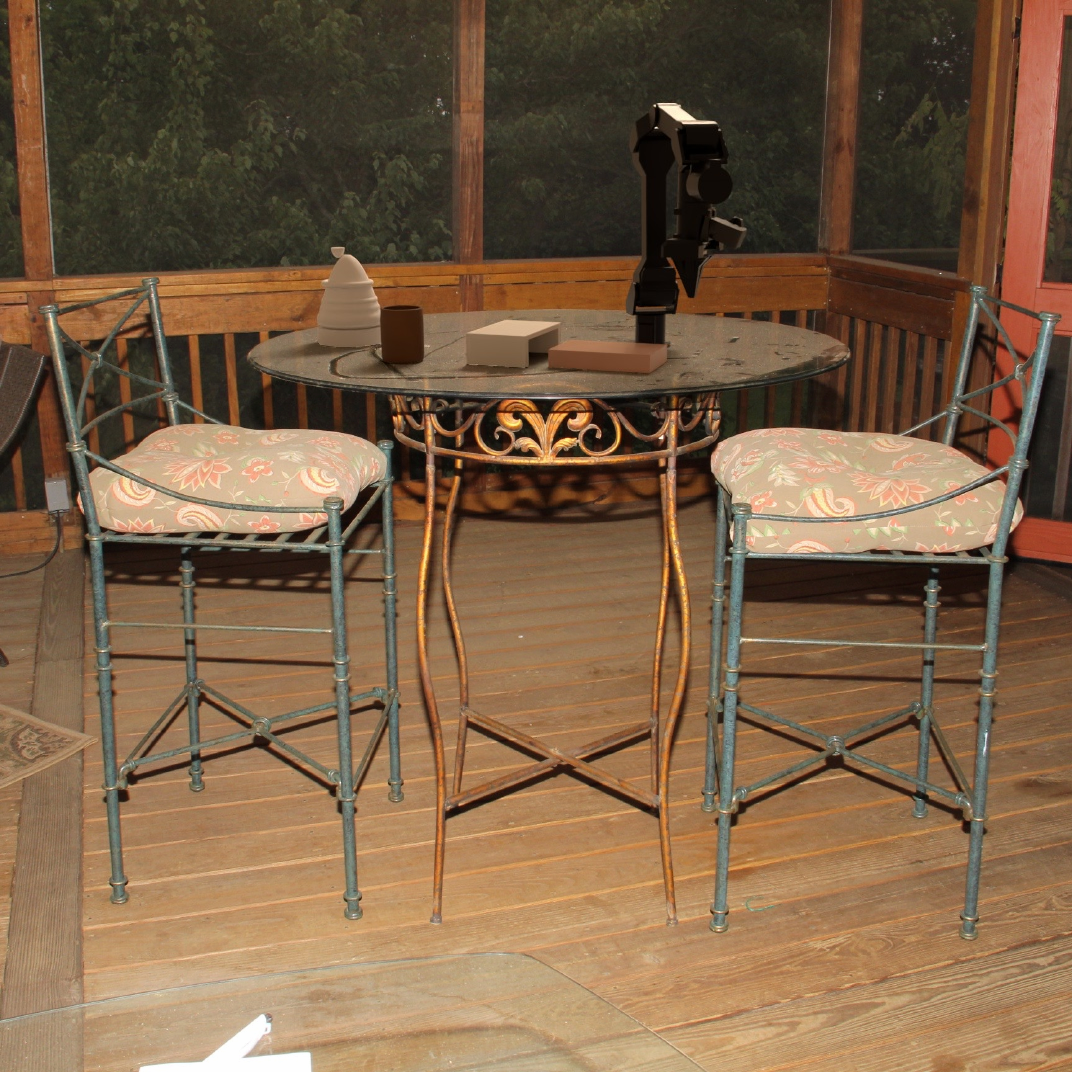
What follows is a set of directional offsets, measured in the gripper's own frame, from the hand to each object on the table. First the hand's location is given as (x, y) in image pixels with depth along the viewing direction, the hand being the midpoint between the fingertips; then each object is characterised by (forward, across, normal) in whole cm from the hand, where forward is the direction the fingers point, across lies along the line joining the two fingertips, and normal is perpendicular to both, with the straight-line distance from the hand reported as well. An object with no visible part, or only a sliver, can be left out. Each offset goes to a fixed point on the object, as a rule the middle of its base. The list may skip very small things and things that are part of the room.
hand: (691, 297), depth 213 cm
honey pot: (+12, +7, +69) cm, 70 cm away
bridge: (+12, 0, +32) cm, 34 cm away
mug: (+12, -7, +51) cm, 53 cm away
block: (+12, 0, +14) cm, 19 cm away
